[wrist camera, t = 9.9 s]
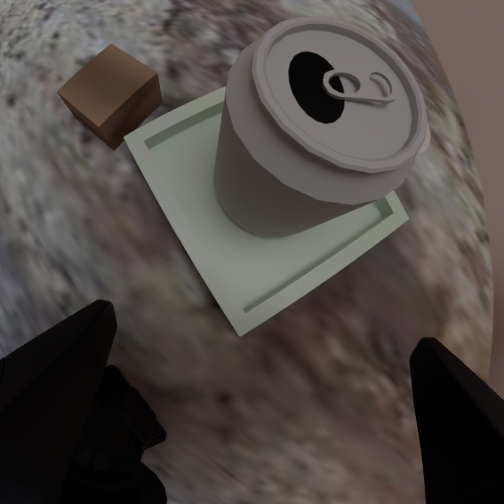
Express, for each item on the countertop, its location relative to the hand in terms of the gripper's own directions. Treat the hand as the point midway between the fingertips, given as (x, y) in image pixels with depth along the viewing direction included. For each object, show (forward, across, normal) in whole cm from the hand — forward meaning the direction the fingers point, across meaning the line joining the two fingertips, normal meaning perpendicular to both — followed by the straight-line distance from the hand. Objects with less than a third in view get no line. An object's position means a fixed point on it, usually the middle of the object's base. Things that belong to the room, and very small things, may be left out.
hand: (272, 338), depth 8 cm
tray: (+14, 0, 0) cm, 15 cm away
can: (+14, 0, 0) cm, 14 cm away
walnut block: (+16, +12, -4) cm, 20 cm away
